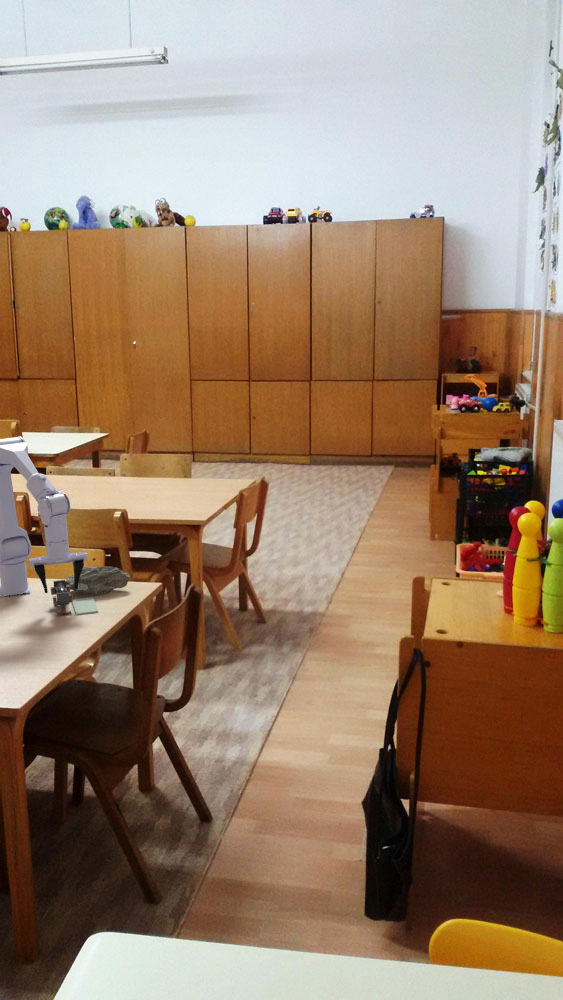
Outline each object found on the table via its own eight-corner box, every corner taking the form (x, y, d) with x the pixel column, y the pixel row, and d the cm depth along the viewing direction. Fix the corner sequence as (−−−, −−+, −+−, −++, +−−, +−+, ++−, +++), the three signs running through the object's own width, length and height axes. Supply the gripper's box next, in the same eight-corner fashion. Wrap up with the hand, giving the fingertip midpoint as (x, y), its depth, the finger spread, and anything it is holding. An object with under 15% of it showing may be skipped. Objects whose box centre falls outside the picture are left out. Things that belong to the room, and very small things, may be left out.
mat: (72, 601, 219) (71, 599, 219) (92, 598, 221) (92, 597, 221) (76, 615, 208) (76, 613, 208) (98, 612, 210) (98, 610, 209)
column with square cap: (54, 591, 217) (53, 580, 216) (65, 590, 218) (64, 579, 217) (57, 605, 206) (56, 594, 205) (69, 603, 207) (68, 592, 206)
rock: (65, 593, 218) (61, 560, 222) (65, 607, 226) (61, 575, 230) (133, 586, 223) (128, 553, 228) (130, 599, 231) (125, 568, 236)
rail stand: (52, 605, 216) (50, 587, 215) (70, 602, 218) (69, 585, 217) (54, 616, 207) (53, 597, 206) (73, 613, 209) (72, 595, 208)
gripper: (28, 546, 202) (33, 598, 205) (87, 540, 207) (91, 590, 210) (27, 540, 209) (32, 590, 212) (84, 534, 214) (88, 583, 216)
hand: (61, 590), depth 211 cm, fingers open, 7 cm apart
